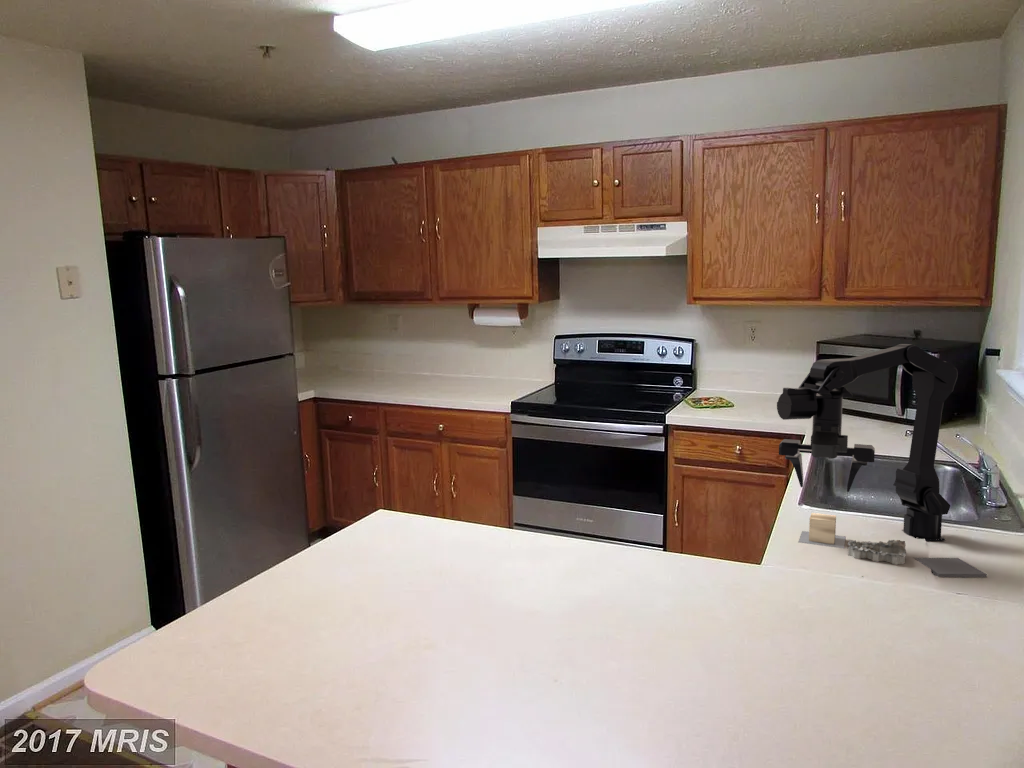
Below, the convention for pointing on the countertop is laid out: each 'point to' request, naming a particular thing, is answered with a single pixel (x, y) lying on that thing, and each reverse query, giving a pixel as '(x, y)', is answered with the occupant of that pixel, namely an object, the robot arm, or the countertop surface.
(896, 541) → the egg carton
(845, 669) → the countertop surface
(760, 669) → the countertop surface
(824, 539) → the maple block
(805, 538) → the tile
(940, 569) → the charcoal mat
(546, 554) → the countertop surface
